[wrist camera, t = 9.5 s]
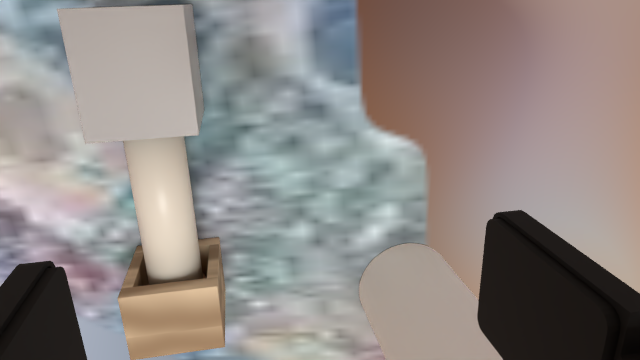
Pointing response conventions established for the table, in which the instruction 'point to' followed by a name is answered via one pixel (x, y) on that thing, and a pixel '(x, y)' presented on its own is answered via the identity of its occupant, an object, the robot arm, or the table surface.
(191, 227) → the tube
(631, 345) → the robot arm
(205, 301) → the socket
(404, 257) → the cylinder container
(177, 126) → the grey block
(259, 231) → the table surface
